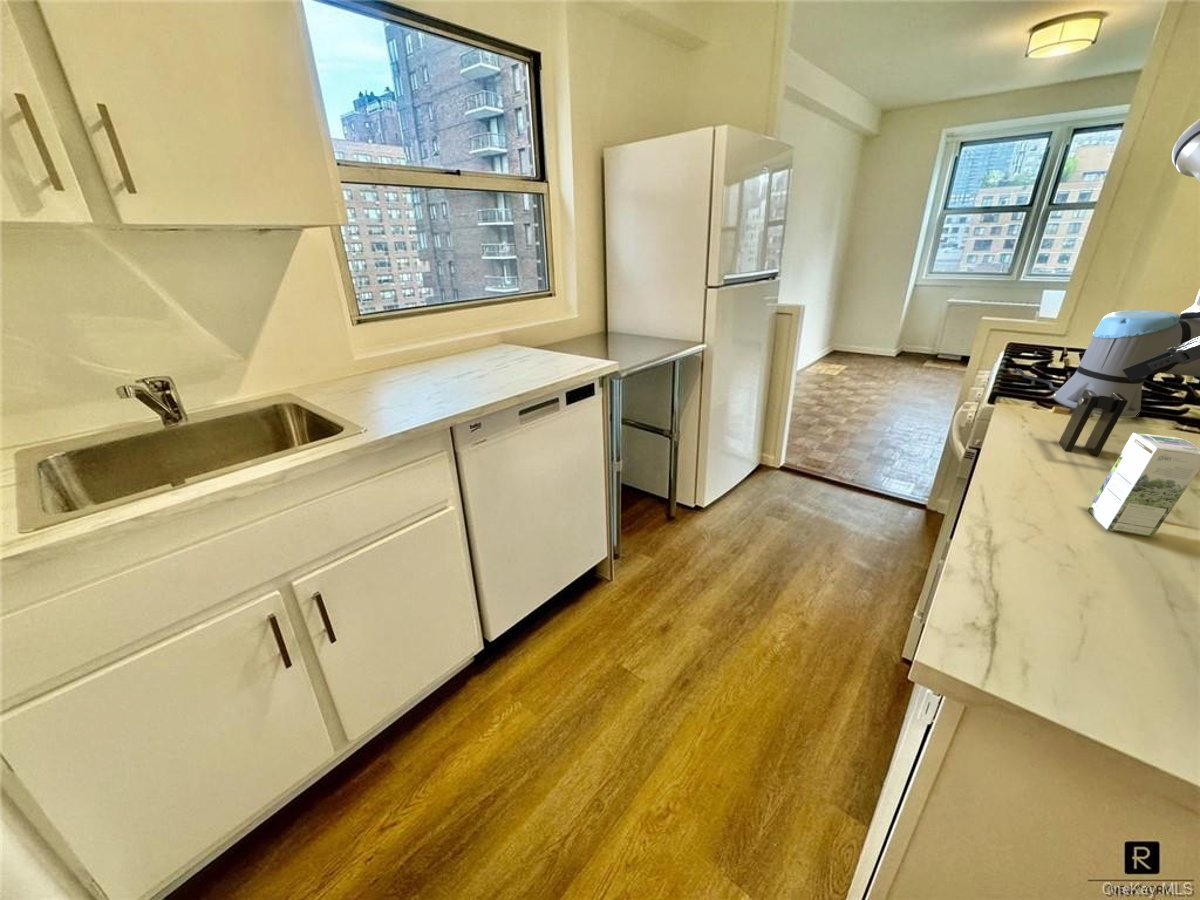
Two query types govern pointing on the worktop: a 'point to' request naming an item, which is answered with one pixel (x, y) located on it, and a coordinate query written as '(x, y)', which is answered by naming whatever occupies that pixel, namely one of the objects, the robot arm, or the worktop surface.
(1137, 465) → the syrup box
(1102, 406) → the tap lever
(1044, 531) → the worktop surface
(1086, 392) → the bracket
